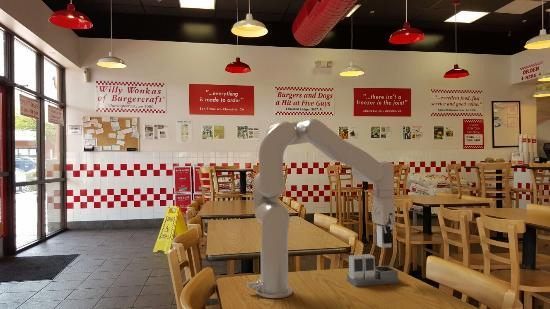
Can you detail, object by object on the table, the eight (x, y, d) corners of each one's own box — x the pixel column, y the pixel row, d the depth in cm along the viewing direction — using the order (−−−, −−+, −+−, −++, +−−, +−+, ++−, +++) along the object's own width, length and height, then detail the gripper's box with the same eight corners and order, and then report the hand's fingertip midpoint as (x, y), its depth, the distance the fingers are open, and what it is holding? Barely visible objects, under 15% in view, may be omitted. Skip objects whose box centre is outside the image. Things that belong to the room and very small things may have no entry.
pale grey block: (382, 247, 152) (382, 226, 152) (376, 245, 156) (376, 224, 156) (392, 247, 152) (391, 226, 153) (386, 244, 157) (386, 224, 157)
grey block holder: (356, 286, 147) (355, 259, 147) (346, 280, 155) (346, 254, 155) (398, 283, 151) (398, 256, 151) (387, 277, 159) (387, 251, 159)
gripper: (364, 192, 162) (365, 238, 161) (385, 196, 145) (386, 247, 145) (381, 192, 163) (382, 237, 163) (404, 195, 147) (405, 246, 147)
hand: (384, 241), depth 154 cm, fingers closed on pale grey block, 4 cm apart
